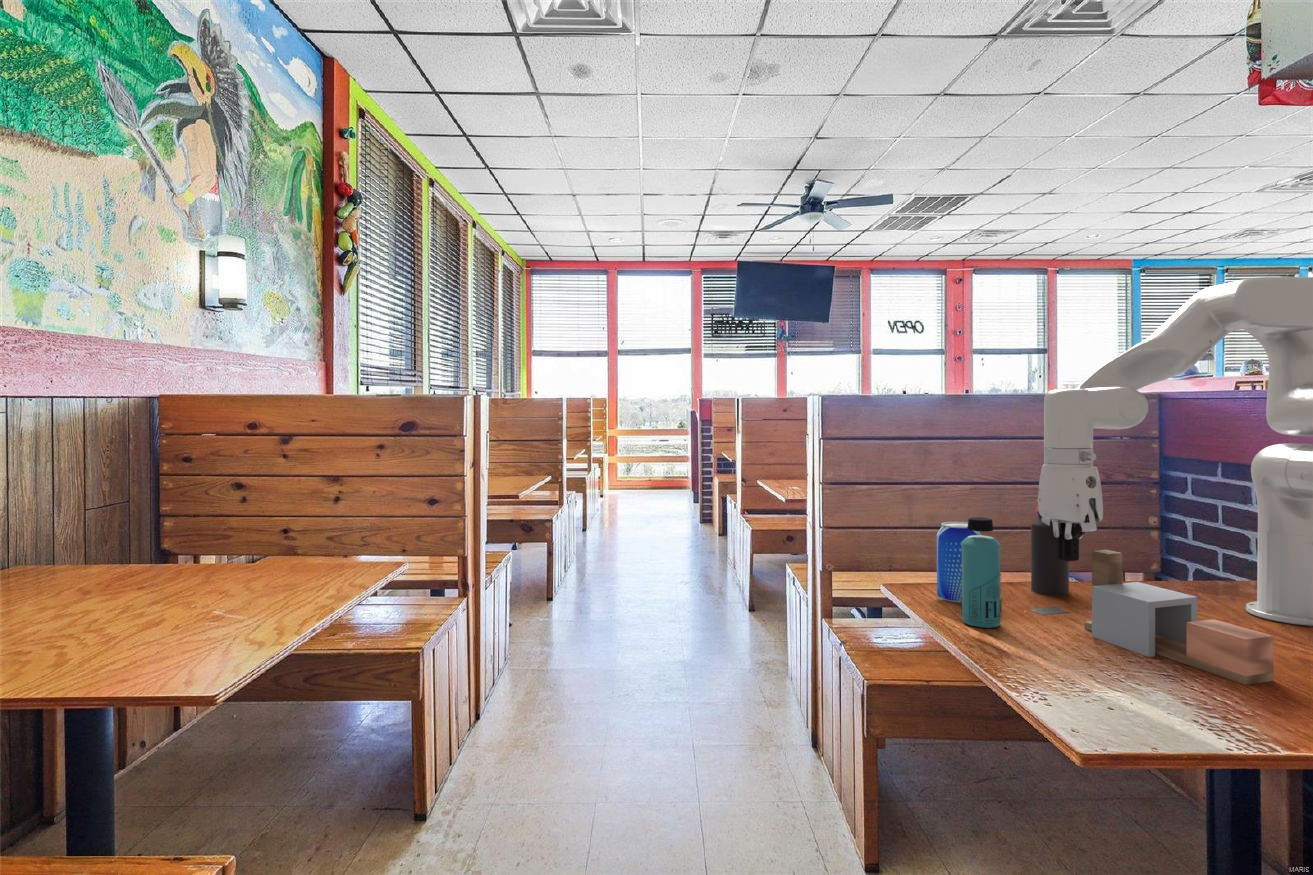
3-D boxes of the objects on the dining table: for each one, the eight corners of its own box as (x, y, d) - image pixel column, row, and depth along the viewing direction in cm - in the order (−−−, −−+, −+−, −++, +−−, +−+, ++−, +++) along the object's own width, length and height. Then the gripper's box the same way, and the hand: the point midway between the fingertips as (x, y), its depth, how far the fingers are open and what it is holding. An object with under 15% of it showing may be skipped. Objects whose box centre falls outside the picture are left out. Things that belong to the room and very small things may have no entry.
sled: (1108, 625, 118) (1108, 548, 117) (1273, 680, 93) (1274, 583, 93) (1084, 628, 117) (1084, 550, 116) (1245, 685, 92) (1246, 586, 92)
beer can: (937, 606, 136) (936, 526, 135) (936, 596, 143) (936, 520, 143) (984, 610, 133) (983, 528, 132) (981, 599, 140) (980, 521, 140)
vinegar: (1025, 592, 145) (1025, 498, 144) (1060, 593, 144) (1060, 498, 143) (1039, 601, 138) (1039, 502, 137) (1075, 602, 137) (1075, 502, 136)
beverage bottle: (985, 638, 116) (985, 521, 115) (952, 628, 122) (951, 517, 121) (1010, 632, 119) (1010, 518, 118) (977, 622, 125) (976, 513, 124)
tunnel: (1137, 632, 115) (1137, 581, 115) (1197, 651, 105) (1197, 596, 105) (1091, 637, 113) (1091, 586, 113) (1148, 658, 103) (1148, 602, 103)
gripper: (1122, 459, 116) (1122, 567, 116) (1051, 455, 130) (1051, 550, 131) (1087, 461, 114) (1086, 570, 115) (1018, 456, 128) (1018, 553, 129)
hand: (1068, 559), depth 123 cm, fingers closed
